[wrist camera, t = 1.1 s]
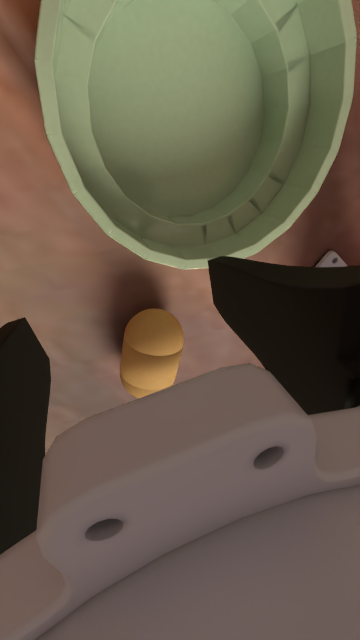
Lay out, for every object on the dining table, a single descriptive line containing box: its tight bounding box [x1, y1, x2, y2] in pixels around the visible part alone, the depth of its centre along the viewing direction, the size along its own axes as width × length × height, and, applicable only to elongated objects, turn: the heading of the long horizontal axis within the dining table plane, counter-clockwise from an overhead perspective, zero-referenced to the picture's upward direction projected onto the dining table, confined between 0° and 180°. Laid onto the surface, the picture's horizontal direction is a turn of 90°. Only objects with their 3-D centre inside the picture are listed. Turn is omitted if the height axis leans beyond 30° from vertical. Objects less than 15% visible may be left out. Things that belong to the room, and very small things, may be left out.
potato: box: [120, 309, 184, 398], centre depth 22 cm, size 7×4×4 cm, turn 168°
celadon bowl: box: [34, 0, 357, 270], centre depth 15 cm, size 14×14×6 cm
